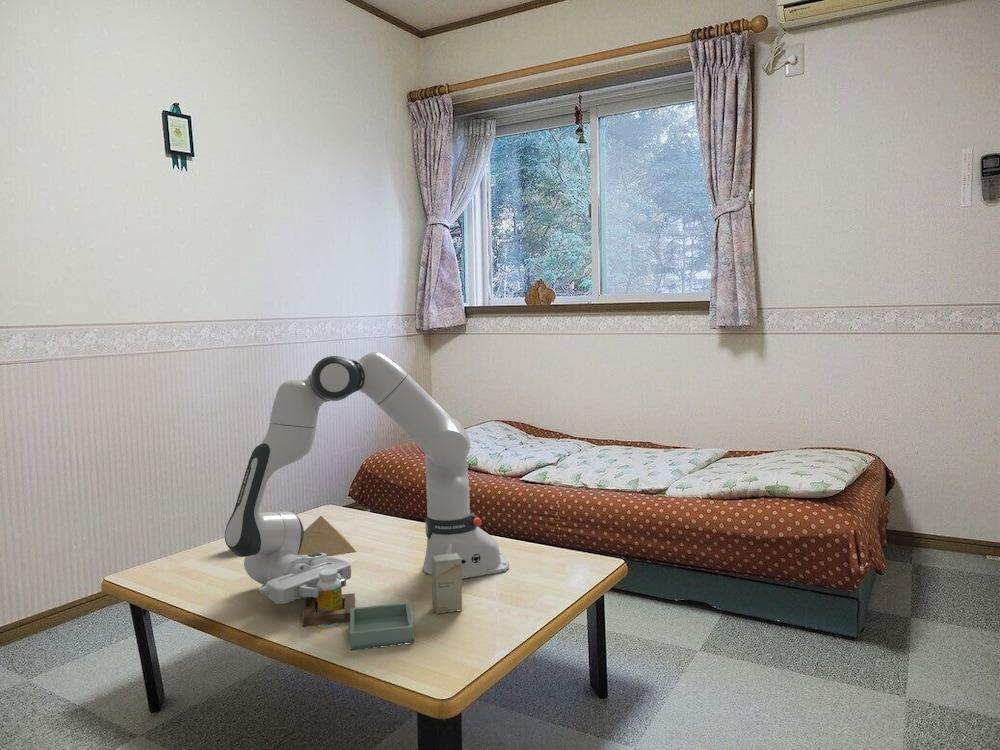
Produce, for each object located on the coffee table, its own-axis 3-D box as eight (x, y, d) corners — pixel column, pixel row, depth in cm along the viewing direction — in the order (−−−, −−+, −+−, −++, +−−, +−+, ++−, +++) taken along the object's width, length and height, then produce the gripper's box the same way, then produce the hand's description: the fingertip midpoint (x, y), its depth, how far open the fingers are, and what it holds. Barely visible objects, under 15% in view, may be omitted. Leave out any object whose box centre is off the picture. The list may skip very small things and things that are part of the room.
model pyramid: (285, 546, 212) (284, 512, 211) (344, 537, 219) (343, 504, 218) (295, 563, 197) (293, 527, 196) (358, 553, 204) (356, 518, 203)
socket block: (355, 601, 169) (354, 593, 169) (355, 621, 158) (354, 612, 158) (306, 606, 167) (306, 597, 167) (303, 626, 156) (302, 617, 156)
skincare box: (435, 614, 161) (434, 561, 160) (431, 607, 165) (430, 555, 164) (463, 611, 162) (461, 558, 161) (458, 603, 167) (457, 552, 166)
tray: (409, 617, 159) (408, 602, 159) (414, 643, 147) (413, 626, 147) (351, 623, 157) (350, 608, 157) (350, 650, 145) (350, 633, 144)
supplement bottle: (336, 619, 159) (334, 576, 158) (313, 617, 160) (311, 575, 160) (346, 609, 165) (344, 567, 164) (324, 607, 166) (322, 566, 165)
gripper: (254, 575, 162) (291, 589, 153) (328, 550, 178) (365, 561, 169) (255, 602, 162) (292, 618, 154) (329, 575, 178) (366, 587, 170)
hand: (331, 588), depth 161 cm, fingers closed on supplement bottle, 5 cm apart
